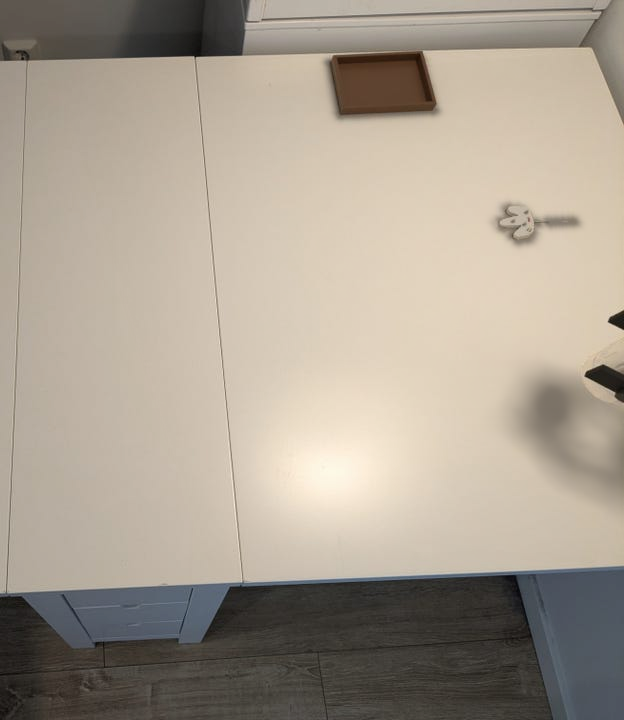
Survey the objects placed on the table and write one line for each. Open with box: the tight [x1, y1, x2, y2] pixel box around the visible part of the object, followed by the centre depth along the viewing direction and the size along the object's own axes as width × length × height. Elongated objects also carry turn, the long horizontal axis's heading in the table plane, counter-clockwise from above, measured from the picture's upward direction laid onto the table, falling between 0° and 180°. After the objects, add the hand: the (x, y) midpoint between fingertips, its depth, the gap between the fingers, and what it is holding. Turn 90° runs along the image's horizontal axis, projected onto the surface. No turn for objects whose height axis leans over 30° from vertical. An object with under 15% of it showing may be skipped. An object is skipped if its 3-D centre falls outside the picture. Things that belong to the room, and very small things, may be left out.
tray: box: [330, 50, 438, 116], centre depth 99 cm, size 12×16×2 cm
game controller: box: [498, 205, 569, 240], centre depth 90 cm, size 6×12×3 cm, turn 109°
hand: (605, 342), depth 66 cm, fingers closed on white cup, 8 cm apart
